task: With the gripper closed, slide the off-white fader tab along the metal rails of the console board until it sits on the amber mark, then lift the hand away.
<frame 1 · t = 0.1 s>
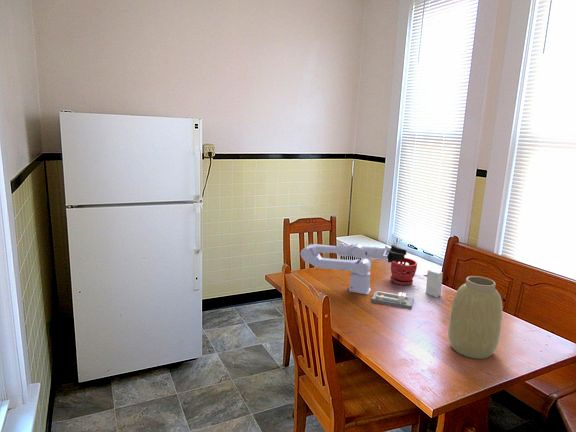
hand: (405, 254, 192), 22 cm above the table, tool horizontal, fingers open, 7 cm apart
fader tab: (401, 296, 190), point 3 cm above the table, slide at 0.0 cm
plant pot: (402, 282, 217), on the table
console board: (392, 301, 192), on the table
skincare box: (432, 294, 202), on the table
vase: (470, 349, 152), on the table
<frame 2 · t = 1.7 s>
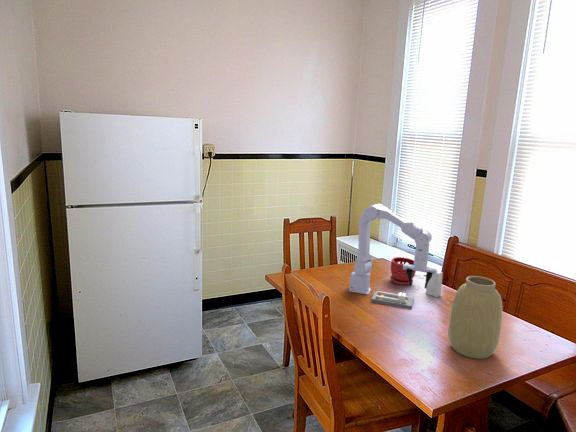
hand: (417, 286, 186), 9 cm above the table, tool pointing down, fingers open, 6 cm apart
nothing on the table moved.
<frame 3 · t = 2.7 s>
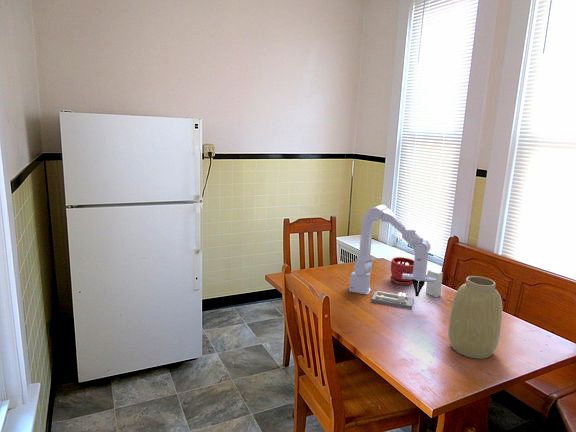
hand: (417, 295, 187), 5 cm above the table, tool pointing down, fingers closed
nothing on the table moved.
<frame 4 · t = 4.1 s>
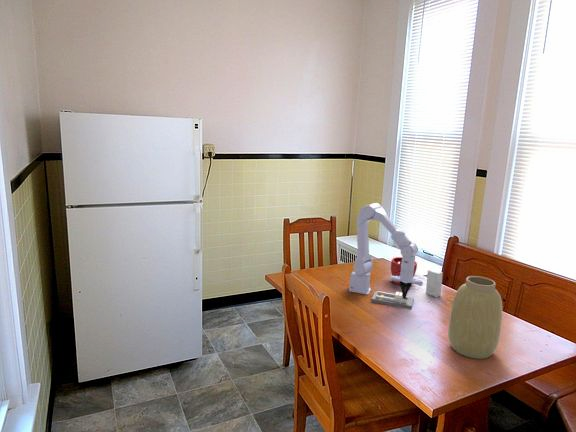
hand: (404, 297, 190), 3 cm above the table, tool pointing down, fingers closed
fader tab: (398, 296, 190), point 3 cm above the table, slide at 1.4 cm, touching gripper
everything else where it was.
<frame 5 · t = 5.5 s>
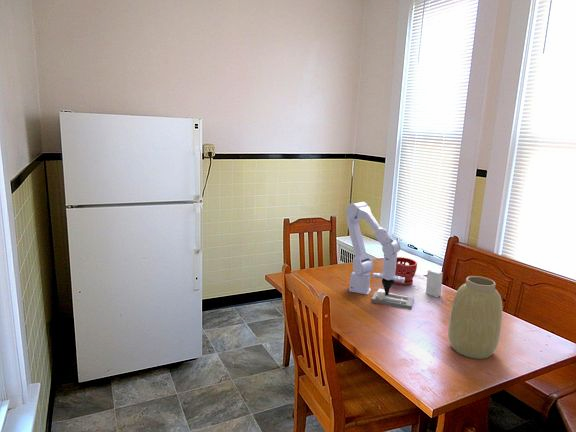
hand: (386, 294, 192), 3 cm above the table, tool pointing down, fingers closed
fader tab: (381, 292, 193), point 3 cm above the table, slide at 9.4 cm, touching gripper
everything else where it was.
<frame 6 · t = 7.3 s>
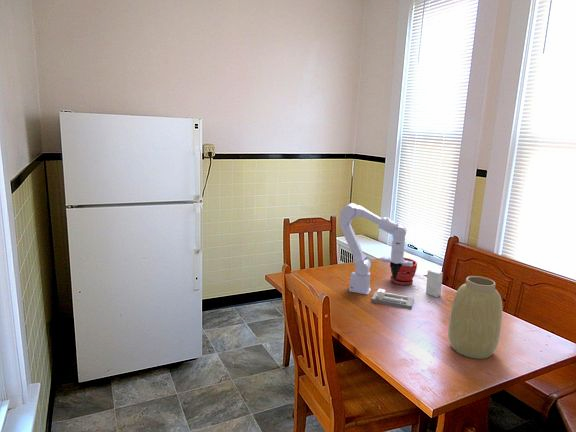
hand: (394, 278, 196), 9 cm above the table, tool pointing down, fingers closed
fader tab: (381, 292, 193), point 3 cm above the table, slide at 9.5 cm
everything else where it was.
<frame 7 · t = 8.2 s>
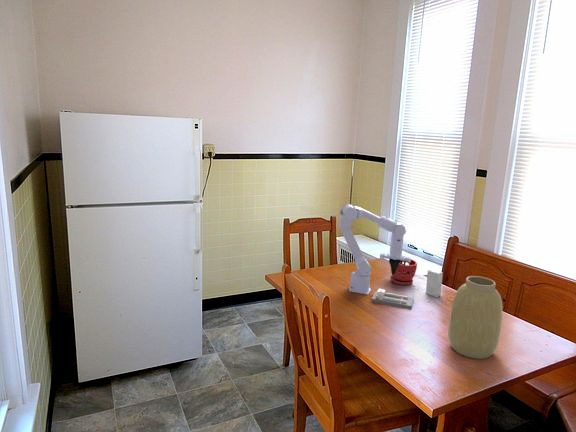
hand: (393, 273, 202), 9 cm above the table, tool pointing down, fingers closed
nothing on the table moved.
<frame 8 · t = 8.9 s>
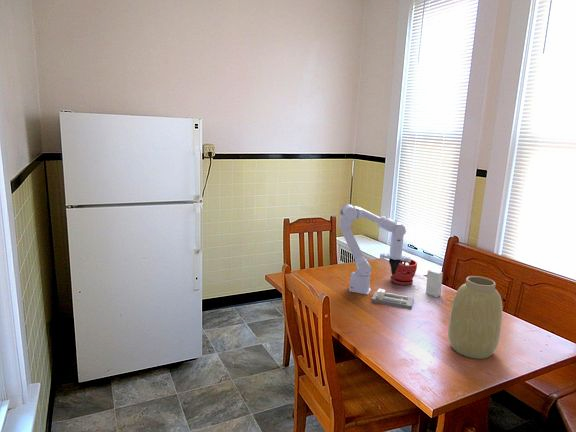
hand: (393, 273, 202), 9 cm above the table, tool pointing down, fingers closed
nothing on the table moved.
at the end: fader tab slide at 9.5 cm; skincare box moved 0.2 cm from its start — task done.
